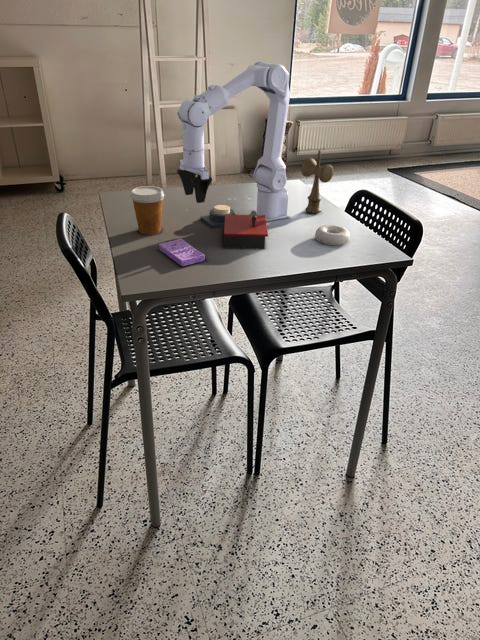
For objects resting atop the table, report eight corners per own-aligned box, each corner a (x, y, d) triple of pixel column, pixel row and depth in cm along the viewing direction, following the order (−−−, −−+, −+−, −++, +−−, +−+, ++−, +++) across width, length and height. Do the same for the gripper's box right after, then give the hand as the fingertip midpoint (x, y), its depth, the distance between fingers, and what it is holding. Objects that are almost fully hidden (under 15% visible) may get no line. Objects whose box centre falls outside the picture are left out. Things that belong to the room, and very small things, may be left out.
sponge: (181, 244, 138) (181, 238, 137) (205, 260, 129) (205, 254, 128) (158, 250, 134) (158, 243, 133) (181, 267, 126) (181, 260, 125)
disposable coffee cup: (151, 239, 140) (148, 198, 134) (126, 232, 144) (122, 191, 138) (173, 229, 147) (171, 189, 141) (148, 222, 151) (145, 183, 145)
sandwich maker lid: (265, 217, 148) (266, 204, 146) (268, 236, 135) (268, 223, 133) (225, 216, 148) (225, 203, 146) (224, 235, 135) (224, 222, 133)
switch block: (231, 214, 160) (231, 205, 158) (243, 222, 154) (244, 212, 153) (200, 219, 155) (200, 210, 153) (212, 227, 149) (212, 218, 148)
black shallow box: (262, 228, 150) (262, 217, 148) (264, 249, 137) (265, 236, 135) (224, 227, 150) (225, 216, 148) (223, 248, 137) (224, 235, 135)
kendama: (310, 206, 169) (316, 145, 158) (329, 214, 162) (337, 151, 152) (296, 209, 166) (302, 147, 155) (316, 218, 159) (323, 154, 149)
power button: (225, 209, 156) (225, 203, 155) (232, 214, 153) (232, 208, 152) (211, 211, 154) (211, 206, 153) (218, 216, 150) (218, 210, 149)
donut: (346, 250, 138) (351, 236, 146) (348, 238, 136) (353, 225, 144) (311, 244, 141) (318, 231, 149) (312, 233, 139) (319, 220, 147)
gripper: (169, 144, 137) (171, 193, 145) (191, 156, 127) (192, 208, 134) (192, 142, 141) (193, 189, 148) (215, 153, 130) (215, 204, 137)
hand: (194, 198), depth 141 cm, fingers open, 7 cm apart
